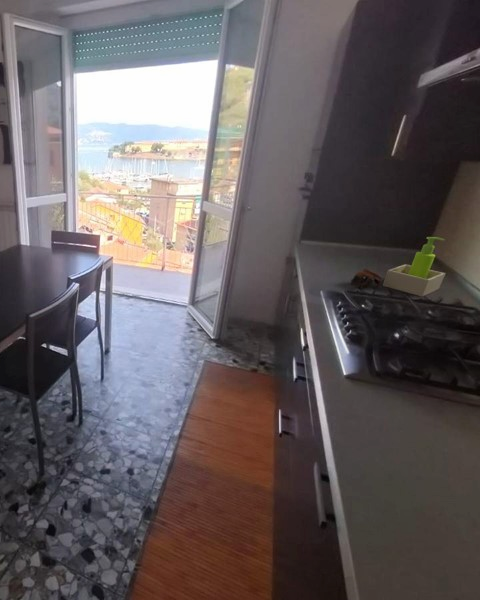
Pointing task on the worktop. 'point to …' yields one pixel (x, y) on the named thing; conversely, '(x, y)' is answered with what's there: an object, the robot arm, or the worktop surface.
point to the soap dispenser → (423, 259)
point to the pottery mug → (365, 279)
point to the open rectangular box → (413, 281)
